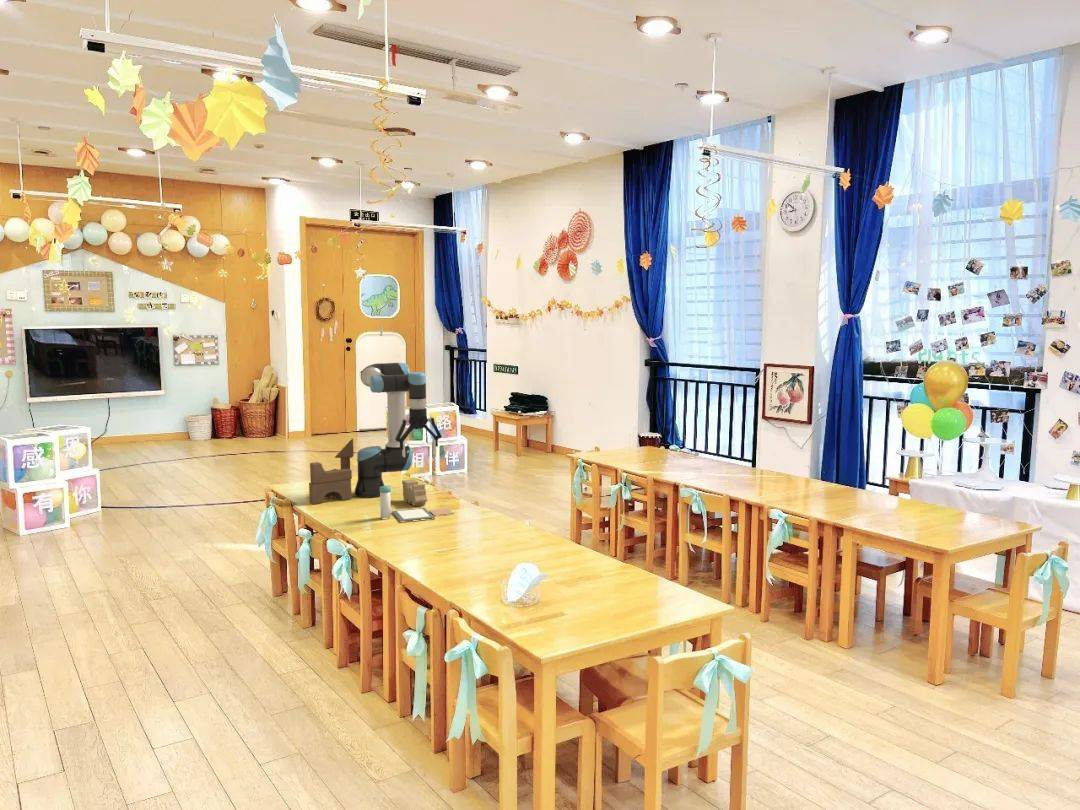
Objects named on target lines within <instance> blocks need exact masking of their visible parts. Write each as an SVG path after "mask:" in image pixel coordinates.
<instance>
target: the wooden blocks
mask: <svg viewBox="0 0 1080 810" xmlns="http://www.w3.org/2000/svg"><path fill="white" fill-rule="evenodd" d="M354 452H355V451H354V438H351V439H350V440H349V441H348V442H347V444H345V445H344V447H342V448H341V450H340V451H339V452H338V453H337V454H336V455H335V457H334V458H335V459H340V461H339V462H340V469H337V468H333V469H330V470H325V469H324V466H323V464H322V462H319V461H318V462H317V461H316V462H310V463H309V470H310V476H309V477H310V482H309V483H308V485H309V486H308V488H309V489H308V490H309V491H308V493H309V503H310V504H312V505H317V504H322V503H323V501H324V498H327V499H332V497H334V498H335V499H340V500H342V501H345V500H351V499H352V479H353V475H352V474H353V473H352V471H353V470H352V469H351V458H353V457H354V456H355V455H354V454H355V453H354Z"/></svg>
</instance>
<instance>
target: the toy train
mask: <svg viewBox="0 0 1080 810" xmlns="http://www.w3.org/2000/svg"><path fill="white" fill-rule="evenodd" d="M401 484H402V495H403V501H404V503H408V504H410V505H411V504H412V507H419V506H418V505H420V506H425V505H426V502H428V498H427V494H426V493H427V491H426V484H424V483H420V484H419V481H418V480H416V479H405V480H401Z"/></svg>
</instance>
